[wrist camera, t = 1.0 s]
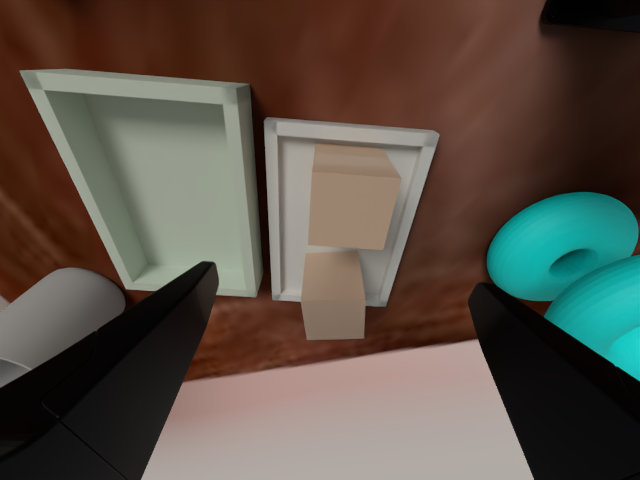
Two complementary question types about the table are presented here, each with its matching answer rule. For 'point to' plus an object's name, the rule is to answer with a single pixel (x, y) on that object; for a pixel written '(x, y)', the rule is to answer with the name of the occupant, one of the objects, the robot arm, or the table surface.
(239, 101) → the bin
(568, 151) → the table surface
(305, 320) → the tan rectangular block
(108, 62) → the table surface
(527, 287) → the donuts
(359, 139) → the tray
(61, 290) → the cup
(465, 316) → the table surface
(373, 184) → the tan rectangular block
